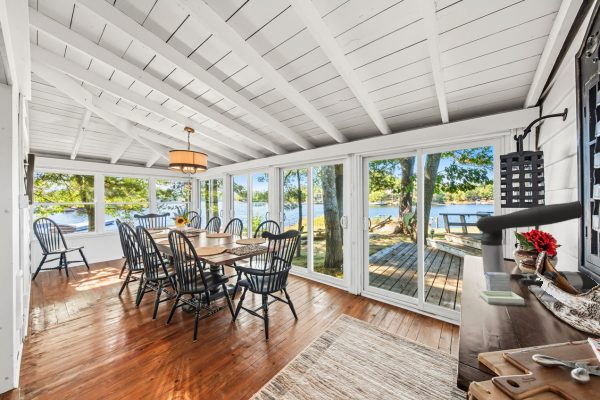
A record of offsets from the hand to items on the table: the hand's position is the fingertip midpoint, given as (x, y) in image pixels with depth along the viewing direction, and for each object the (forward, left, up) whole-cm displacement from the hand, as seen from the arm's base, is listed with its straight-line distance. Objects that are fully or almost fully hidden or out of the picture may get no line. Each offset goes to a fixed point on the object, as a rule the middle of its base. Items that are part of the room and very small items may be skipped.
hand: (516, 279), depth 105 cm
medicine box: (0, -7, -6) cm, 10 cm away
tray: (+10, -11, -6) cm, 16 cm away
